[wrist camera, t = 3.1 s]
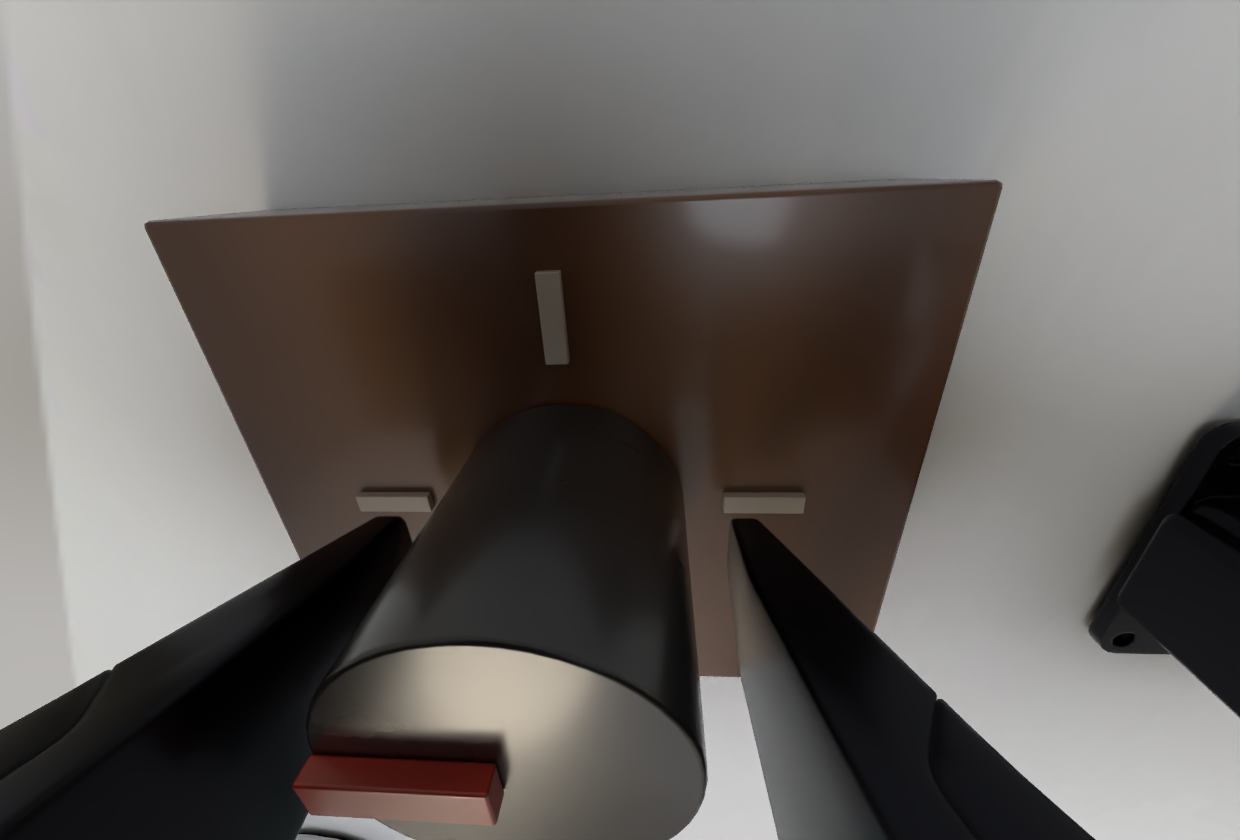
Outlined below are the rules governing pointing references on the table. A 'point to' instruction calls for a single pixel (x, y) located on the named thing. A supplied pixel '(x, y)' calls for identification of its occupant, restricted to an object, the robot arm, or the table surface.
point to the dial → (526, 652)
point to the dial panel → (601, 352)
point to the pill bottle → (312, 837)
